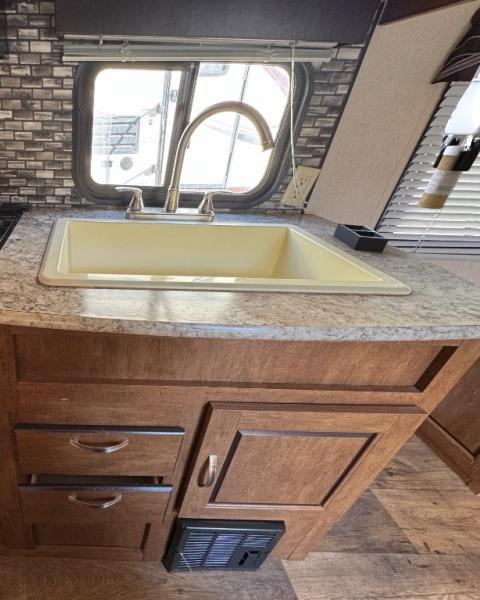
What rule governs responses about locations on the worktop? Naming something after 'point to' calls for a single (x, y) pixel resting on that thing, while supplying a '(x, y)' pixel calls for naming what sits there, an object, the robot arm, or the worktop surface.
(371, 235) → the grid
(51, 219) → the worktop surface
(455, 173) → the sprinkles bottle
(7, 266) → the worktop surface
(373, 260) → the worktop surface
